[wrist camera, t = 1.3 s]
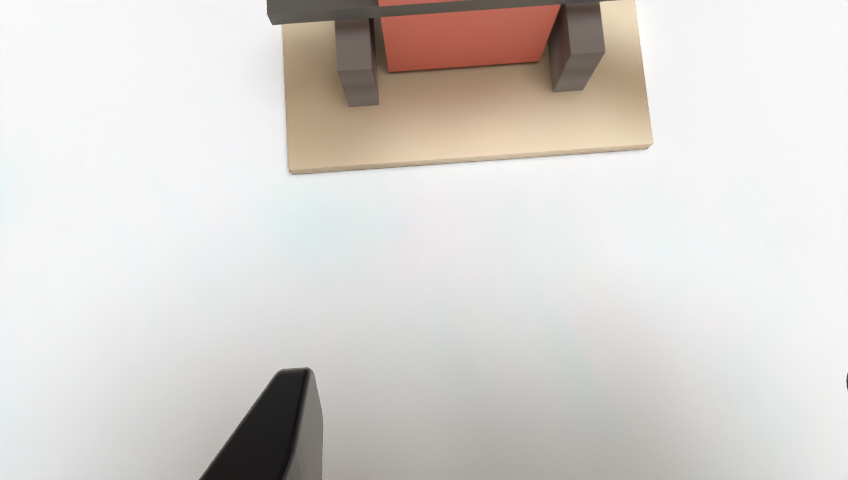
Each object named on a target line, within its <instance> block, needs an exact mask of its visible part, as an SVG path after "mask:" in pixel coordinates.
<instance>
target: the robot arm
mask: <svg viewBox="0 0 848 480" xmlns="http://www.w3.org/2000/svg"><path fill="white" fill-rule="evenodd" d="M847 389H848V374H847ZM322 445H323V418H322V410H321V405H320V400H319V395H318V390H317V386H316V381H315V376H314V373H313V371H312V370H311V369H310V368H307V367H306V368H291V369H282V370H280V371H278V372H277V373H276V374H275V375H274V377H273V378H272V380H271V381H270V382H269V384H268V385H267V387H266V388H265V389H264V391H263V392H262V393H261V395H260V396H259V398H258V399H257V400H256V402H255V403H254V405H253V406H252V407H251V409H250V410H249V411H248V413H247V414H246V416H245V417H244V418H243V420H242V421H241V423H240V424H239V425H238V427H237V428H236V429H235V431H234V432H233V434H232V435H231V436H230V438H229V439H228V441H227V442H226V443H225V445H224V446H223V447H222V449H221V450H220V452H219V453H218V454H217V456H216V457H215V459H214V460H213V461H212V463H211V464H210V465H209V467H208V468H207V470H206V471H205V472H204V474H203V475H202V477H201V478H200V479H199V480H322Z"/></svg>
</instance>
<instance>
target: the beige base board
mask: <svg viewBox="0 0 848 480" xmlns="http://www.w3.org/2000/svg"><path fill="white" fill-rule="evenodd" d="M282 27H283V51H284V74H285V98H286V121H287V145H288V168H289V171H290V172H291V174H292V175H293V174H307V173H320V172H334V171H348V170H362V169H376V168H390V167H403V166H417V165H431V164H445V163H459V162H473V161H486V160H500V159H514V158H528V157H542V156H556V155H569V154H583V153H597V152H611V151H625V150H639V149H648V148H649V147H650V146H651V145H652V144H653V138H652V131H651V123H650V115H649V107H648V100H647V92H646V84H645V77H644V69H643V61H642V53H641V46H640V38H639V30H638V23H637V15H636V7H635V0H616V1H602V2H588V3H573V4H561V6H560V9H559V11H558V14H557V16H556V19H555V22H554V24H553V27H552V30H551V32H550V35H549V37H548V40H547V43H546V45H545V48H544V51H543V53H542V56H541V58H540V61H536V62H522V63H508V64H494V65H480V66H466V67H452V68H438V69H424V70H410V71H396V72H389V71H388V64H387V57H386V50H385V43H384V36H383V30H382V23H381V17H377V18H363V19H349V20H335V21H321V22H307V23H293V24H282Z"/></svg>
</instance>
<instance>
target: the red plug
mask: <svg viewBox="0 0 848 480" xmlns="http://www.w3.org/2000/svg"><path fill="white" fill-rule="evenodd" d="M602 1H616V0H267V15H268V17H269V19H270V21H271V23H272V25H279V24H293V23H307V22H321V21H335V20H349V19H363V18H377V17H381V23H382V30H383V36H384V43H385V50H386V57H387V64H388V71H389V72H396V71H410V70H424V69H438V68H452V67H466V66H480V65H494V64H508V63H522V62H536V61H540V58H541V56H542V53H543V51H544V48H545V45H546V43H547V40H548V37H549V35H550V32H551V30H552V27H553V24H554V22H555V19H556V16H557V14H558V11H559V9H560V6H561V4H573V3H588V2H602Z"/></svg>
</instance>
